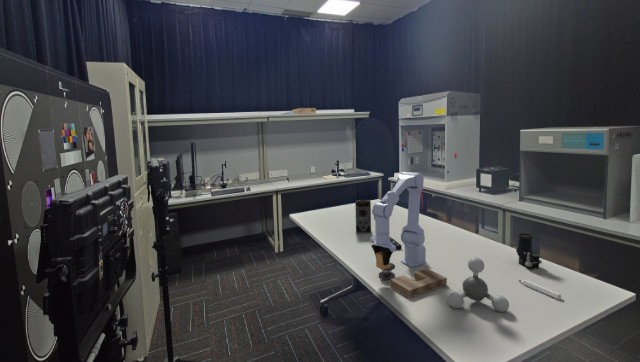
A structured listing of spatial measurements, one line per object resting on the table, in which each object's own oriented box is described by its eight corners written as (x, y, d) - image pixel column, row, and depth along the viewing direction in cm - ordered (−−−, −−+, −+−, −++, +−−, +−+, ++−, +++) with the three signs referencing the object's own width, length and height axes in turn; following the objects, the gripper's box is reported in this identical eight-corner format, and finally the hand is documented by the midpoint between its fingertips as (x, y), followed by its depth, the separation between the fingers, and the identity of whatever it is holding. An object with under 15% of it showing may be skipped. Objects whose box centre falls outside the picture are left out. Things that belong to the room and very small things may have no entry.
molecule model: (480, 308, 129) (452, 261, 134) (519, 297, 119) (487, 247, 124) (462, 332, 114) (431, 279, 120) (504, 322, 104) (468, 264, 109)
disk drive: (402, 250, 175) (390, 241, 189) (402, 245, 174) (390, 236, 189) (383, 252, 173) (373, 242, 187) (383, 247, 172) (373, 238, 187)
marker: (518, 283, 135) (559, 301, 120) (515, 282, 134) (556, 299, 119) (520, 277, 135) (562, 294, 120) (517, 276, 134) (559, 292, 119)
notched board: (426, 274, 143) (426, 268, 143) (446, 284, 134) (446, 277, 133) (390, 286, 134) (390, 279, 134) (409, 297, 125) (409, 290, 124)
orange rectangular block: (383, 264, 140) (383, 251, 140) (389, 267, 137) (389, 254, 136) (376, 266, 139) (376, 253, 138) (382, 269, 135) (382, 256, 134)
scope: (529, 240, 142) (510, 233, 151) (527, 270, 144) (509, 262, 153) (544, 238, 144) (525, 231, 153) (542, 267, 146) (523, 259, 155)
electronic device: (355, 233, 204) (355, 201, 201) (356, 230, 210) (355, 199, 207) (371, 233, 202) (370, 201, 199) (371, 230, 208) (370, 199, 205)
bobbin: (388, 271, 148) (387, 261, 147) (398, 277, 142) (398, 266, 141) (375, 275, 145) (375, 264, 144) (385, 281, 139) (385, 270, 138)
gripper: (364, 228, 140) (364, 259, 142) (386, 238, 127) (386, 271, 129) (377, 226, 143) (377, 255, 145) (400, 234, 130) (400, 267, 133)
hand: (382, 262), depth 137 cm, fingers closed on orange rectangular block, 4 cm apart
